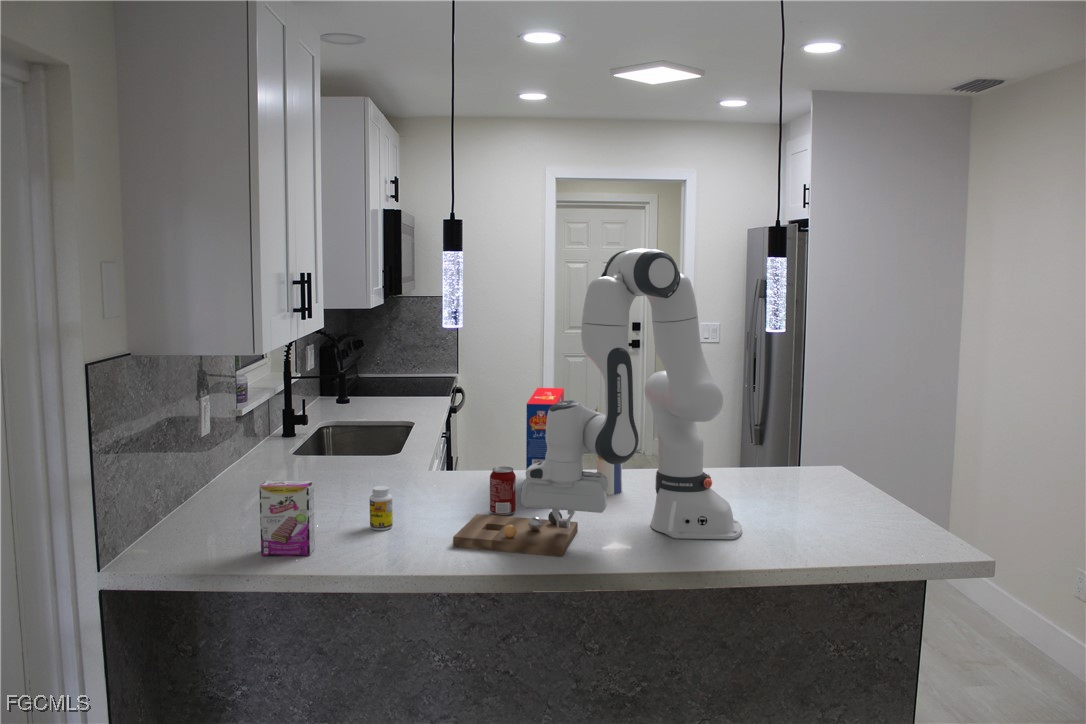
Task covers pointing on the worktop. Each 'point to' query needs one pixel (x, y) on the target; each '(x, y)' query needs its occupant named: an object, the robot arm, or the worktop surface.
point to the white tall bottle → (611, 474)
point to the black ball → (553, 518)
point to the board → (490, 536)
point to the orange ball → (510, 531)
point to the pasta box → (539, 422)
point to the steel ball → (535, 523)
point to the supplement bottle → (381, 509)
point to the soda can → (502, 491)
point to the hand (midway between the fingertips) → (563, 527)
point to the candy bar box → (287, 518)
